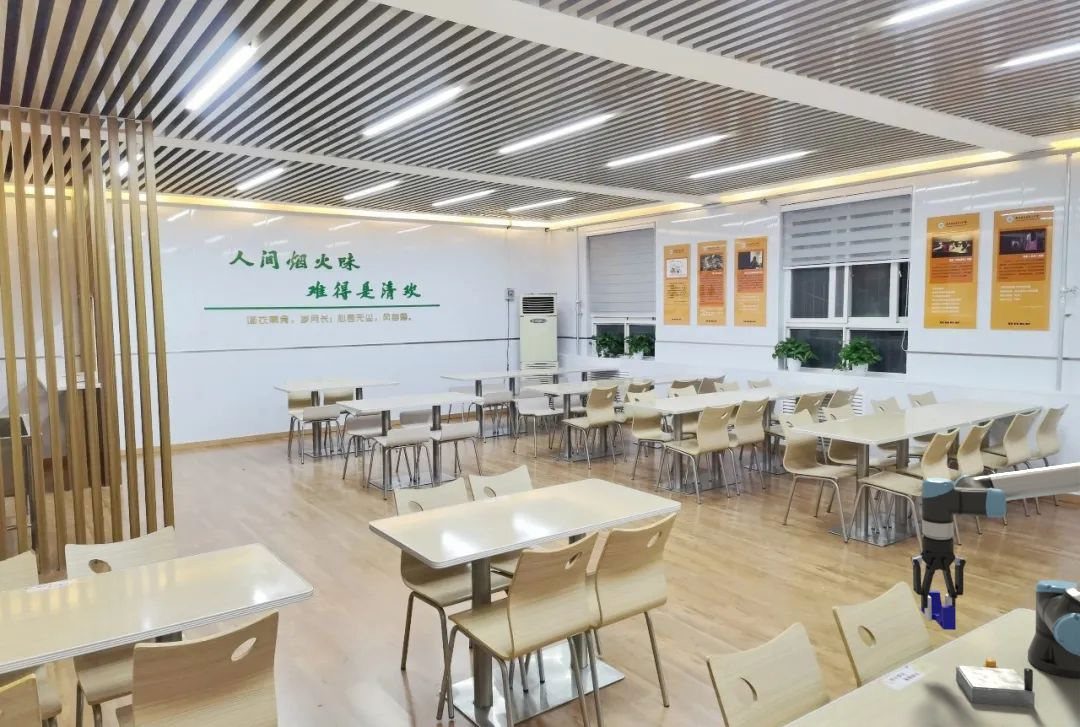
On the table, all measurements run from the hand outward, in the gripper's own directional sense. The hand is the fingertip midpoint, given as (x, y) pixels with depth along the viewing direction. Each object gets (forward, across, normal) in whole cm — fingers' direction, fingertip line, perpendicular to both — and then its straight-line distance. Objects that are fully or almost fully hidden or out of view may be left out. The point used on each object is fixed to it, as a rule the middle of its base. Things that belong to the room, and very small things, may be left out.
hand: (938, 619), depth 199 cm
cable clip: (+1, 0, 0) cm, 1 cm away
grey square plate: (+15, -9, +11) cm, 20 cm away
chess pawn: (+15, -13, +1) cm, 20 cm away
